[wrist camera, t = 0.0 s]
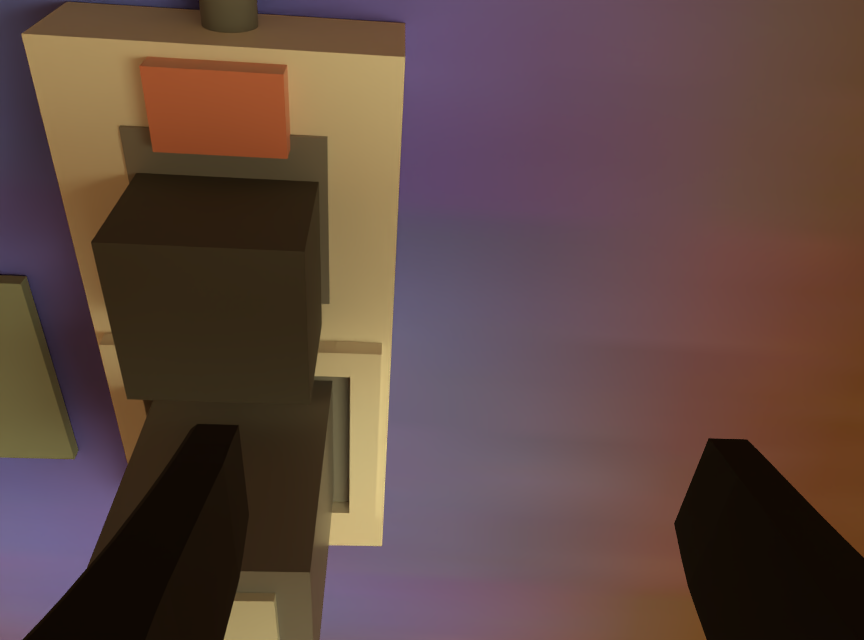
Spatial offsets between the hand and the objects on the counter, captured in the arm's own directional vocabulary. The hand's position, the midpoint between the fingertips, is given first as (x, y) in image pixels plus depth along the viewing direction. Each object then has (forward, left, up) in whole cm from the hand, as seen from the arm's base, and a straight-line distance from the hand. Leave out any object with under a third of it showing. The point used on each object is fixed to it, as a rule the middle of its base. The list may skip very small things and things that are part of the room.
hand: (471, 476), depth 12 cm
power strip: (-2, +5, -10) cm, 11 cm away
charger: (-7, +5, -8) cm, 11 cm away
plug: (-1, +5, -8) cm, 9 cm away
